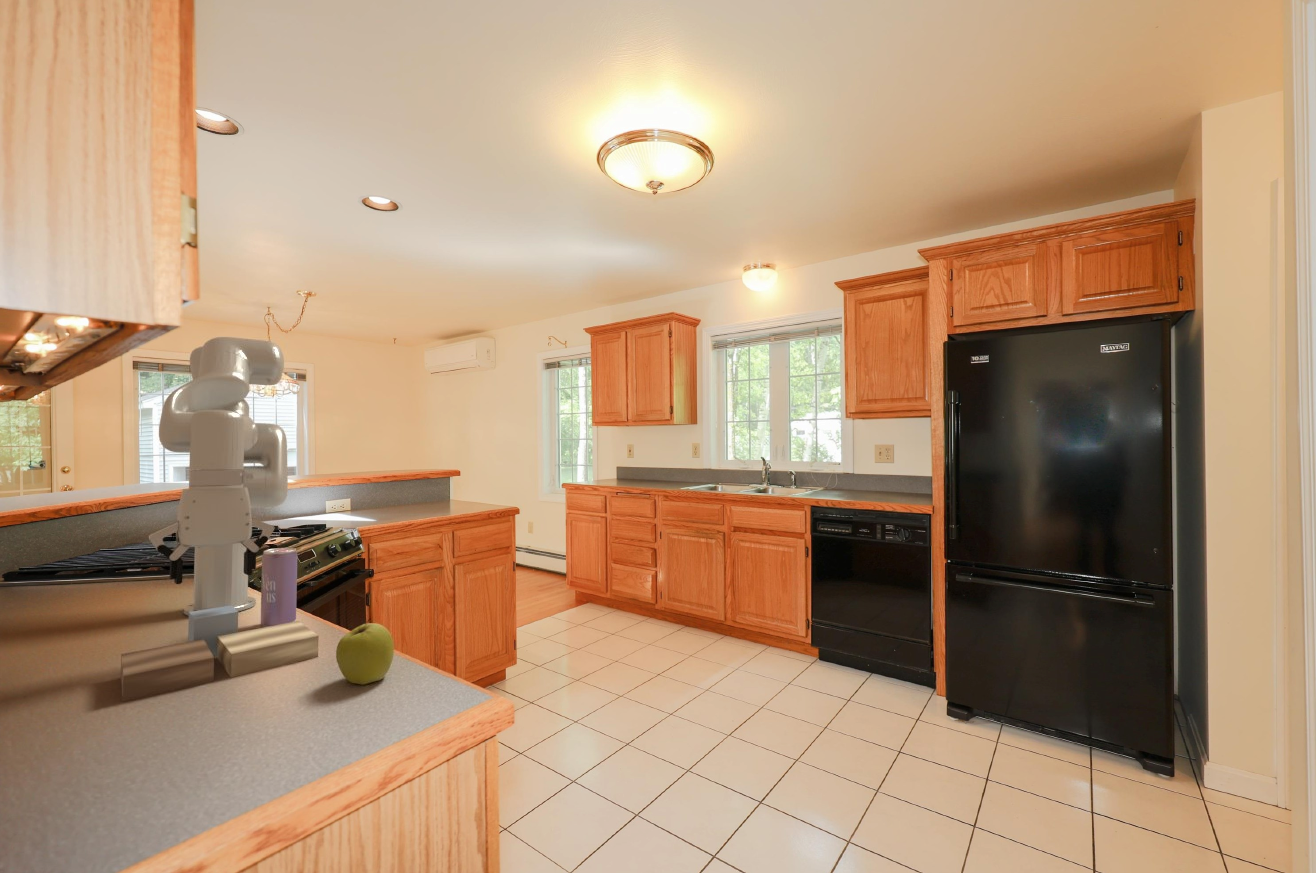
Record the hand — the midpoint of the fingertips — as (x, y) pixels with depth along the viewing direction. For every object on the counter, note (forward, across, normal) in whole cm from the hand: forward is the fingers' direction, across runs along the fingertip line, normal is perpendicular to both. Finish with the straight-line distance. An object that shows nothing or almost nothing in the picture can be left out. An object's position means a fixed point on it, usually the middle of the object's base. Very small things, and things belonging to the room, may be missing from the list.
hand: (214, 578), depth 98 cm
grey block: (+13, 0, -1) cm, 13 cm away
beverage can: (+13, -12, -11) cm, 21 cm away
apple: (+14, -14, +31) cm, 37 cm away
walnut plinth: (+14, +7, +9) cm, 18 cm away
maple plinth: (+14, -6, +9) cm, 17 cm away
